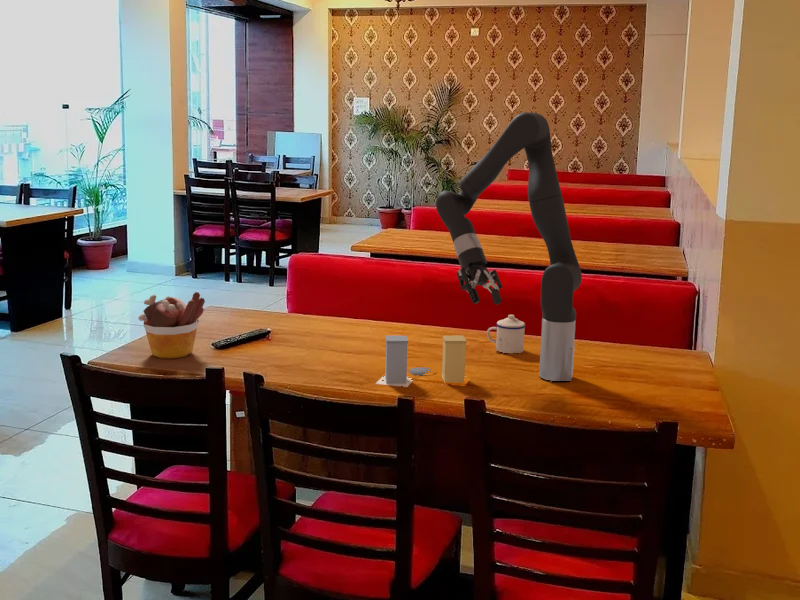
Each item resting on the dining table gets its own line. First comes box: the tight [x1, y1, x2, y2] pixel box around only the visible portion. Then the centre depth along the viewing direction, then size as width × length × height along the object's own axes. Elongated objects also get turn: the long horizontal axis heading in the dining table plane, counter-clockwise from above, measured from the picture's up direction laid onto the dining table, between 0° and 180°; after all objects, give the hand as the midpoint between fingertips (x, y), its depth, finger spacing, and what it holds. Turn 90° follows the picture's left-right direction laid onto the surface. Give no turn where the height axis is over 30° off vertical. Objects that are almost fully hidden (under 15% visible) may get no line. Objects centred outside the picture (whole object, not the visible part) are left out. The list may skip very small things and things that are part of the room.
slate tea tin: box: [384, 335, 409, 384], centre depth 228 cm, size 6×6×12 cm
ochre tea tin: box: [441, 335, 467, 383], centre depth 229 cm, size 6×6×12 cm
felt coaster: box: [408, 366, 432, 377], centre depth 238 cm, size 8×8×1 cm
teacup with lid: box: [486, 314, 526, 354], centre depth 262 cm, size 12×9×12 cm
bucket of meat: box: [137, 291, 206, 360], centre depth 249 cm, size 20×16×20 cm
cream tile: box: [375, 375, 414, 388], centre depth 229 cm, size 9×9×1 cm
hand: (487, 303), depth 231 cm, fingers open, 8 cm apart
